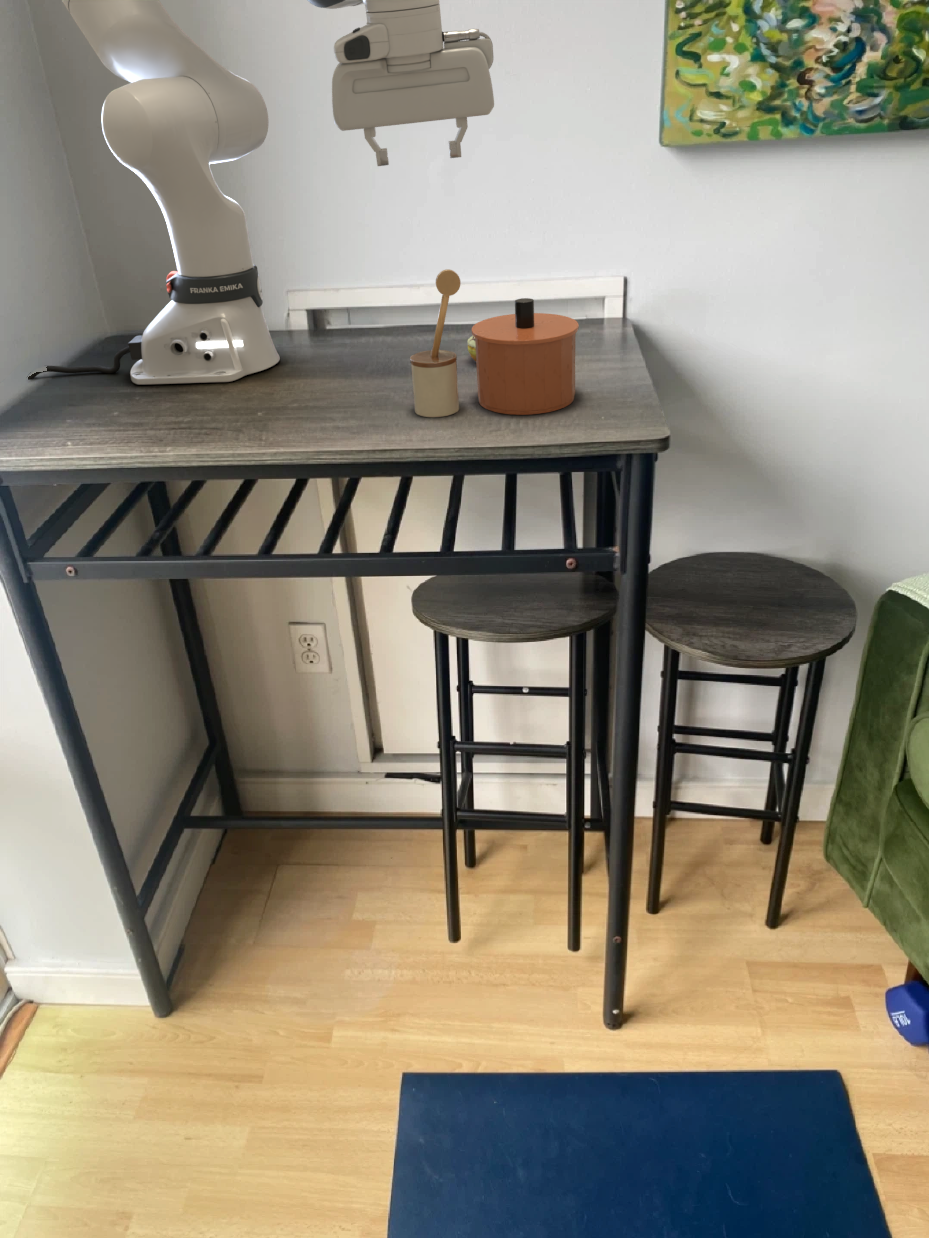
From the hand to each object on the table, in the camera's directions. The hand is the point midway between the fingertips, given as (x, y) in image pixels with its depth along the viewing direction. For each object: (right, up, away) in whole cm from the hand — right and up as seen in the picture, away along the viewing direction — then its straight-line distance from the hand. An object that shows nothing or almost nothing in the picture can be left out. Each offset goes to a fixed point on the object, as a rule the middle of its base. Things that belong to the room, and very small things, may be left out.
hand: (419, 161), depth 122 cm
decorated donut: (+12, -21, +19) cm, 31 cm away
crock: (+2, -32, +1) cm, 32 cm away
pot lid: (+14, -22, -2) cm, 26 cm away
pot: (+14, -30, +3) cm, 33 cm away
